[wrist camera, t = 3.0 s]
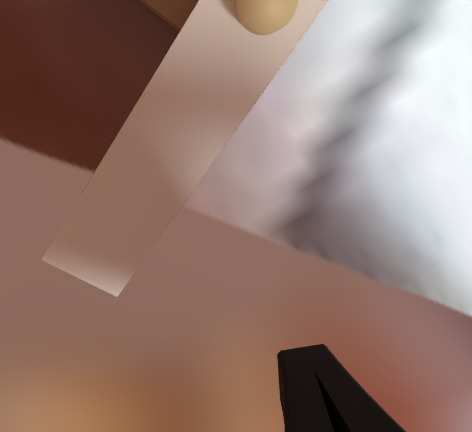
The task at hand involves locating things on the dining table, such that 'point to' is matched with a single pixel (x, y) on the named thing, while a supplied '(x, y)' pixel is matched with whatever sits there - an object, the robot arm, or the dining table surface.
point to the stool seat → (172, 11)
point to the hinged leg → (176, 133)
